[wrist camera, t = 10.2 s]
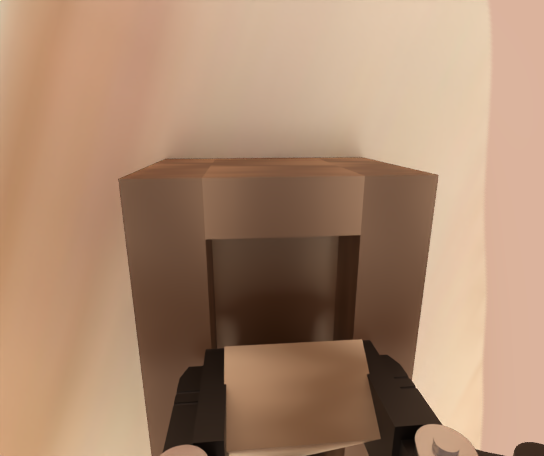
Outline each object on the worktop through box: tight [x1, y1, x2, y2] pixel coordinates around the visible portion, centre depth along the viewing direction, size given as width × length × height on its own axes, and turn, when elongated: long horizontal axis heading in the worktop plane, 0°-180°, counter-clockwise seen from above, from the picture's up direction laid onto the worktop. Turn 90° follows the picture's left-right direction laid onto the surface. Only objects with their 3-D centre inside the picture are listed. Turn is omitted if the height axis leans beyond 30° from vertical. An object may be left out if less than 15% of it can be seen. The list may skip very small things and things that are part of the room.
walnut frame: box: [118, 158, 438, 456], centre depth 17 cm, size 10×20×7 cm, turn 0°
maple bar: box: [224, 339, 381, 456], centre depth 15 cm, size 4×14×2 cm
